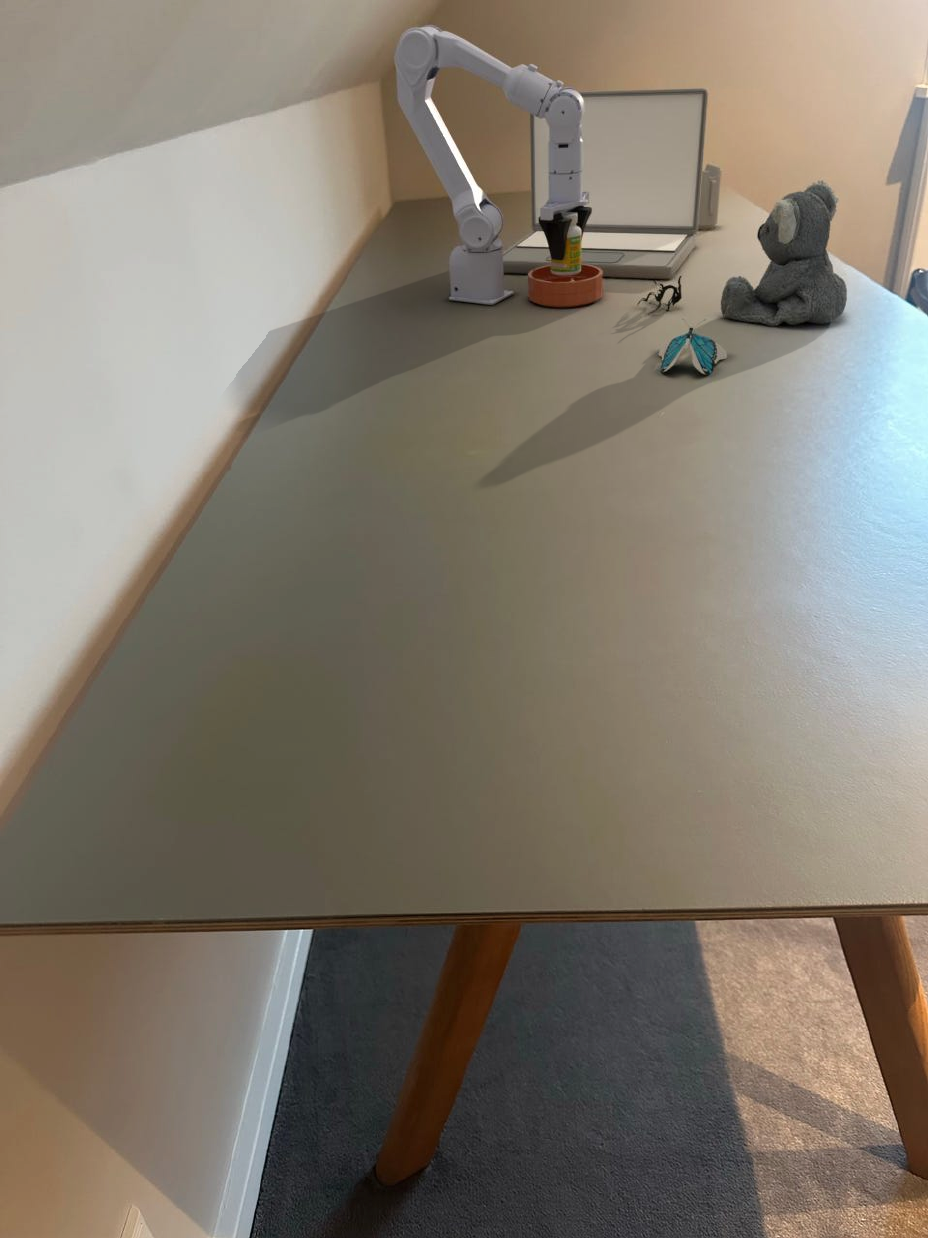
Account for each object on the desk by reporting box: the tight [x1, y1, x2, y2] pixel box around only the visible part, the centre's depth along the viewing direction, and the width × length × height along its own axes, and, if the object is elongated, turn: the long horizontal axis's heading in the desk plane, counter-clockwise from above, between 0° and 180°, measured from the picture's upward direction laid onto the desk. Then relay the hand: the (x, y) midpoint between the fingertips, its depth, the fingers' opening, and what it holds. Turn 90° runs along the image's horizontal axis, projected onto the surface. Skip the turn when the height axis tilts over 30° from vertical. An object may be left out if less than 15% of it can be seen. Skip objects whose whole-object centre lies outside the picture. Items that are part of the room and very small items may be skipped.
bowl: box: [527, 264, 604, 308], centre depth 168 cm, size 13×13×4 cm
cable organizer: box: [698, 163, 723, 230], centre depth 208 cm, size 7×12×12 cm, turn 13°
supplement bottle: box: [551, 212, 581, 276], centre depth 164 cm, size 5×5×10 cm
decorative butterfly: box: [658, 319, 728, 376], centre depth 136 cm, size 10×6×10 cm
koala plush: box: [720, 179, 848, 327], centre depth 149 cm, size 17×18×20 cm
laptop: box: [503, 87, 709, 280], centre depth 184 cm, size 36×28×29 cm
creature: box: [636, 275, 683, 315], centre depth 160 cm, size 8×5×8 cm
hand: (565, 255), depth 166 cm, fingers closed on supplement bottle, 5 cm apart
